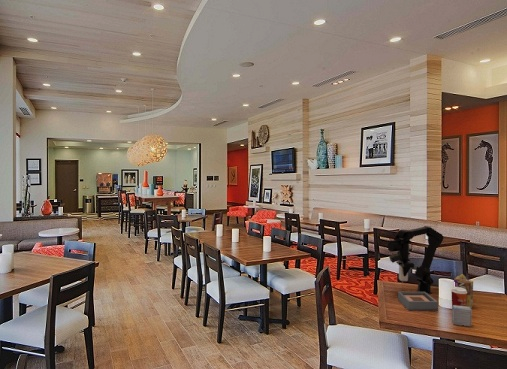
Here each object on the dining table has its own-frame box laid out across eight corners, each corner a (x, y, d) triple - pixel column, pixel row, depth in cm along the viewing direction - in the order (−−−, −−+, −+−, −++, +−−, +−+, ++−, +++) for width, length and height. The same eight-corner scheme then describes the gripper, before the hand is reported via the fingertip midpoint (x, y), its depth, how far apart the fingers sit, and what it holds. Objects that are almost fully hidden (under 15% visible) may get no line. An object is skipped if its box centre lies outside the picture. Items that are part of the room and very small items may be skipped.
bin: (424, 299, 208) (425, 291, 208) (437, 310, 192) (438, 302, 192) (397, 299, 209) (397, 291, 209) (408, 310, 193) (408, 301, 193)
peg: (405, 278, 218) (405, 264, 218) (407, 280, 214) (408, 266, 214) (398, 278, 218) (399, 264, 218) (401, 280, 214) (401, 266, 214)
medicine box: (469, 323, 177) (469, 306, 176) (471, 327, 173) (471, 310, 172) (451, 321, 179) (451, 304, 179) (453, 324, 175) (453, 308, 175)
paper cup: (461, 318, 183) (461, 292, 182) (447, 313, 189) (447, 287, 189) (469, 315, 186) (470, 289, 186) (455, 310, 193) (456, 285, 192)
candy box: (473, 307, 197) (473, 280, 197) (470, 309, 195) (470, 282, 194) (456, 302, 204) (456, 277, 204) (453, 304, 202) (453, 278, 201)
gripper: (385, 246, 225) (385, 270, 226) (395, 253, 207) (395, 279, 207) (403, 247, 224) (402, 270, 225) (415, 254, 206) (414, 280, 207)
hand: (403, 275), depth 216 cm, fingers closed on peg, 4 cm apart
